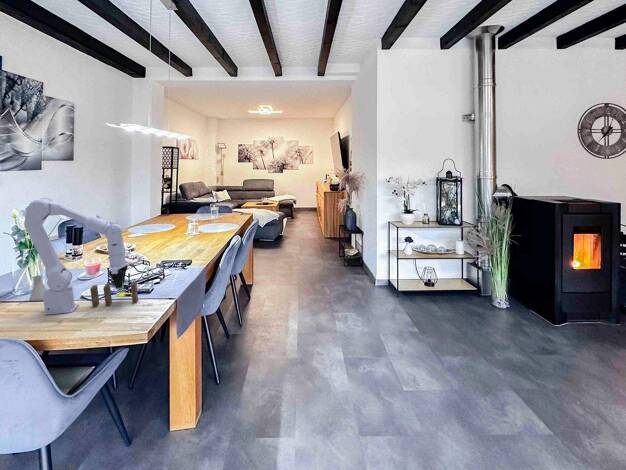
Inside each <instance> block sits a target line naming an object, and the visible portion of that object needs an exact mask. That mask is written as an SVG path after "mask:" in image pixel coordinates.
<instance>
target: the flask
mask: <svg viewBox="0 0 626 470" xmlns="http://www.w3.org/2000/svg"><path fill="white" fill-rule="evenodd" d="M42 277H43V276H42V274H41V275H39V274H37V275H33V276H32V277H31V278H32V279H33V285H32V289H31V292H30V296H29V301H32V302H42V301H43V294H44V291H45V290H48V289H47V288H46V286H45V284H44V283H43V280H42V279H43V278H42Z"/></svg>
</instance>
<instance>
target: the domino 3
mask: <svg viewBox="0 0 626 470" xmlns="http://www.w3.org/2000/svg"><path fill="white" fill-rule="evenodd" d="M121 271H122V270H121ZM116 289H117V293H122V292H123V291H124V290H125V287H124V284H123V283H122V288H116Z"/></svg>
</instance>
